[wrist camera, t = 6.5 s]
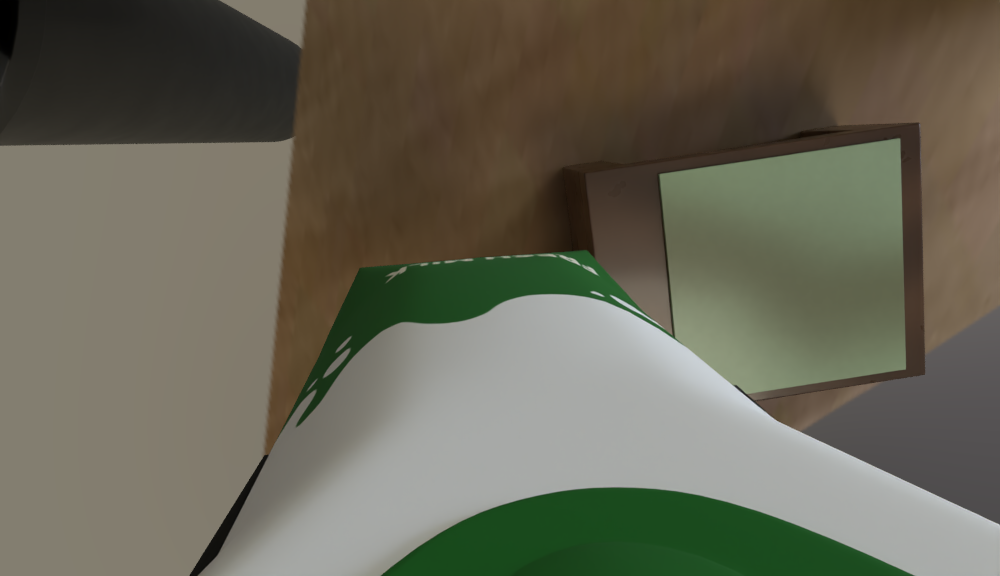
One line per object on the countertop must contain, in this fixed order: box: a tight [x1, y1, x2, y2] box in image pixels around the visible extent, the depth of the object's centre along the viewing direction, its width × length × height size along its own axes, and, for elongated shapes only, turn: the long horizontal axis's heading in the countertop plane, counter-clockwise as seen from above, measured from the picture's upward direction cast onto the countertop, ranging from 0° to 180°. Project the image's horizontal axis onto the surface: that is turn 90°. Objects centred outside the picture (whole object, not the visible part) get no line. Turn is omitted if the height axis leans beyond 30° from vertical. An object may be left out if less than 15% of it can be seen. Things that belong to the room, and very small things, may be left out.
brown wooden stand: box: [563, 123, 925, 401], centre depth 33 cm, size 11×14×7 cm
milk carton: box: [198, 250, 1000, 576], centre depth 13 cm, size 9×9×20 cm
